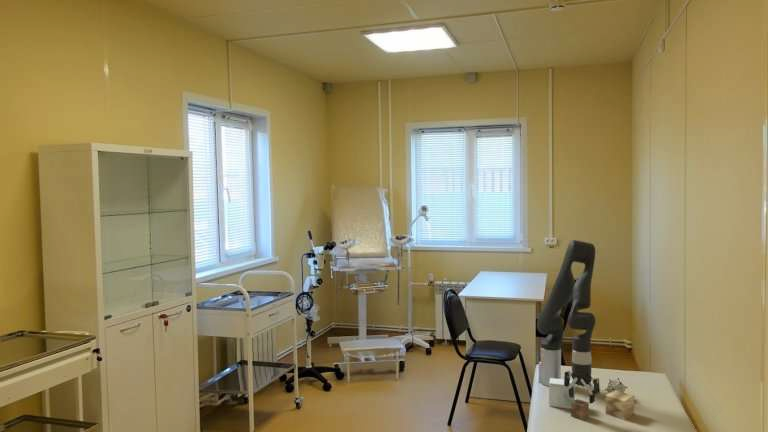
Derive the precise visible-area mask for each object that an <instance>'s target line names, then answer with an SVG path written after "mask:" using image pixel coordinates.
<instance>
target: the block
mask: <svg viewBox="0 0 768 432" xmlns="http://www.w3.org/2000/svg"><path fill="white" fill-rule="evenodd" d="M589 404H590V403H589V402H588V401H585V400H583V399H579V398H576V399H575V400H574V401H573V402H571V409H570V417H572V418H574V419H577V420H580V421H584V420H586V419H587V418H589V414H590V413H589V412H590V411H589V406H590V405H589Z"/></svg>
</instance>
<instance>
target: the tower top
mask: <svg viewBox="0 0 768 432" xmlns="http://www.w3.org/2000/svg"><path fill="white" fill-rule="evenodd" d="M604 396H605V399H604V400H605V406H606V405H608V406H611V407H614V408H617V409H620V410H623V411H625V410H626V409H628V408H630V407H632V406H634V407H635V405H634V404H635V396H634V395H632V394H629V393H625V392H624V393H623V392H619V391H616V390H615V391H613V392H611V393H609V392H608V393H607V394H605V395H604Z"/></svg>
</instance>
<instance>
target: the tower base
mask: <svg viewBox="0 0 768 432" xmlns="http://www.w3.org/2000/svg"><path fill="white" fill-rule="evenodd" d="M634 408H635V405H634V406H632V407H630V408H628V409H626V410H625V411H623V410H620V409H617V408H614V407H611V406H608V405H605V415H607V416H611V417H614V418H617V419H621V420H623V421H625V420H628V419H629V418H631V417H632V416H633V415H634V414H635V413H634V412H635V411H634V410H635V409H634Z"/></svg>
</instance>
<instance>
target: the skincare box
mask: <svg viewBox="0 0 768 432" xmlns="http://www.w3.org/2000/svg"><path fill="white" fill-rule="evenodd" d="M572 381H573V379H572V380H571V379H570V383H571V382H572ZM573 388H574V397H573V398H570V396H569V388H568V387H567V386H565V385H564V378H561V379H555V378H550V381H549V386H548V407H555V408H560V409H569V410H571V402H573V401H574V400H576V399H575V398H576V397H575V394H576V385H575V386H574V387H573Z"/></svg>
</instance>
